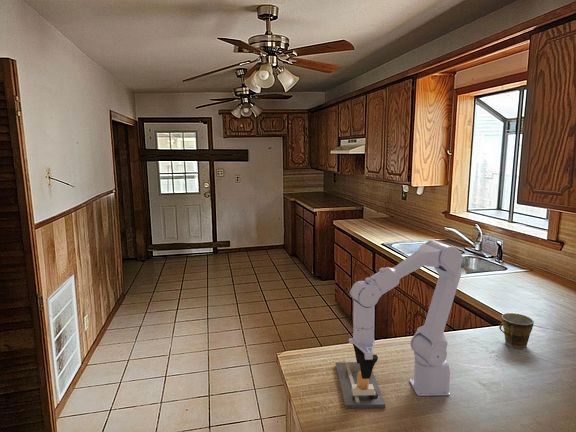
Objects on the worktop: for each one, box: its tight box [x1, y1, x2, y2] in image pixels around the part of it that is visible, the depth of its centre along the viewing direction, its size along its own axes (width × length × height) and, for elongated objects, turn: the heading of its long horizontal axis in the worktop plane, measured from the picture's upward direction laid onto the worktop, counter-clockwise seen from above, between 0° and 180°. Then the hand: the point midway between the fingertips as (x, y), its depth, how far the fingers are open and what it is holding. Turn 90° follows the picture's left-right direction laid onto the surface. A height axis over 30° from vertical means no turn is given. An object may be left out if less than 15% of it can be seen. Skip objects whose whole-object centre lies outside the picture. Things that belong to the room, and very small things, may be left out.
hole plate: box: [335, 357, 386, 410], centre depth 117 cm, size 11×22×4 cm, turn 0°
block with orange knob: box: [352, 371, 375, 396], centre depth 109 cm, size 7×3×6 cm, turn 90°
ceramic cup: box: [499, 312, 535, 350], centre depth 139 cm, size 13×10×10 cm
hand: (363, 370), depth 109 cm, fingers open, 7 cm apart
